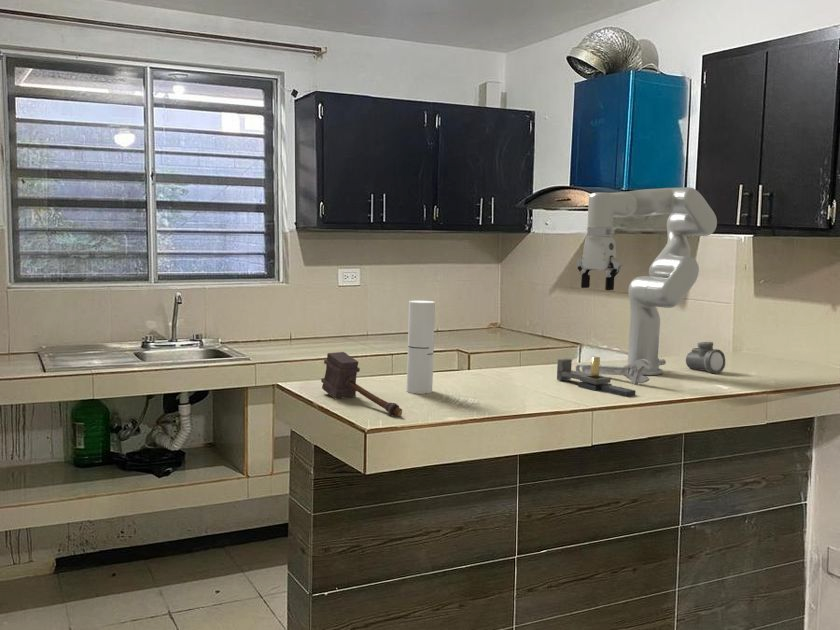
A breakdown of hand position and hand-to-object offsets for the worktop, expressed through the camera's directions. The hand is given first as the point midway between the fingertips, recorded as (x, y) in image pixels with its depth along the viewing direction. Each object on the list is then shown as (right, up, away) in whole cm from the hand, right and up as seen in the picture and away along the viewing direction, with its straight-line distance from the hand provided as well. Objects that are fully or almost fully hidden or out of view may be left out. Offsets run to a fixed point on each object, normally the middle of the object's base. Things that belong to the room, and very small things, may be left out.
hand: (597, 288), depth 247 cm
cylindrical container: (-55, -29, -24) cm, 67 cm away
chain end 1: (-6, -29, -8) cm, 30 cm away
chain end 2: (-1, -30, -16) cm, 34 cm away
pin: (-3, -29, -12) cm, 32 cm away
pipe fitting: (+41, -27, +24) cm, 55 cm away
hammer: (-69, -31, -43) cm, 87 cm away
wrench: (+5, -29, +3) cm, 29 cm away
